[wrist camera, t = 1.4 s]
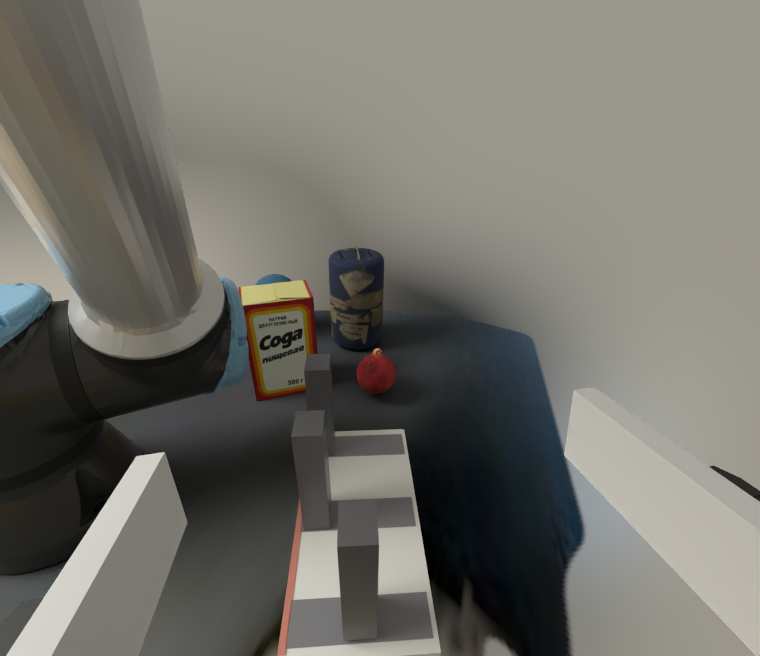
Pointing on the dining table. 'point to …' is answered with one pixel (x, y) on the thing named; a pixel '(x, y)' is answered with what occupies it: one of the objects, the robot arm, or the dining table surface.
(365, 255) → the dark blue cylinder
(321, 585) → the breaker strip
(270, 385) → the baking soda box
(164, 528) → the robot arm
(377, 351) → the pomegranate
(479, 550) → the dining table surface
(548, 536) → the dining table surface
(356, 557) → the block
